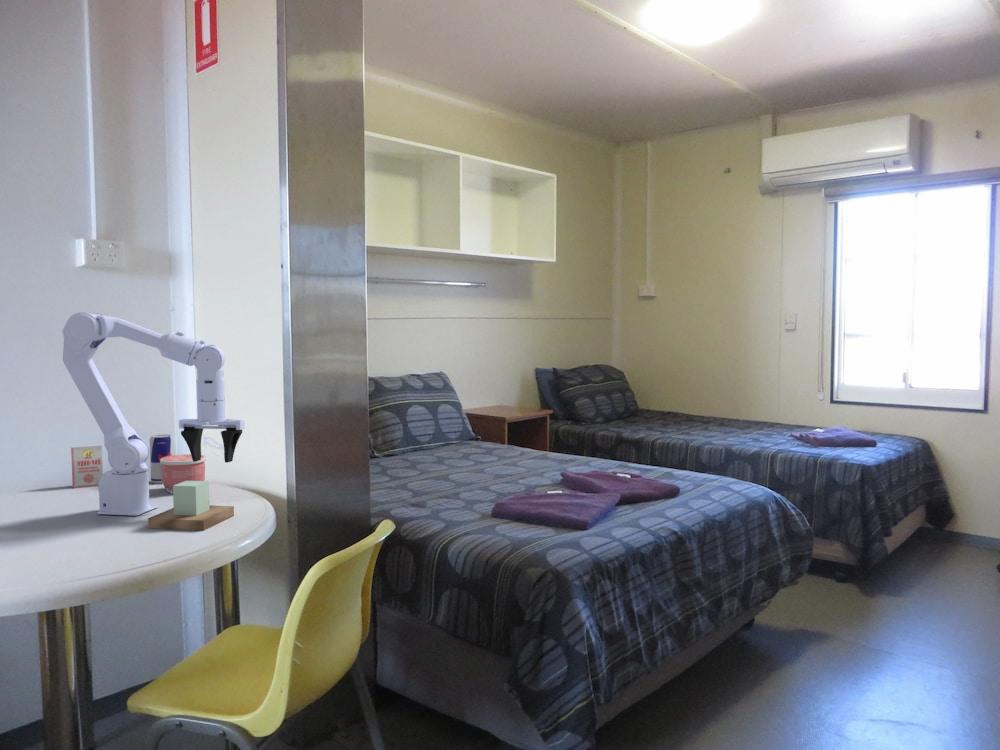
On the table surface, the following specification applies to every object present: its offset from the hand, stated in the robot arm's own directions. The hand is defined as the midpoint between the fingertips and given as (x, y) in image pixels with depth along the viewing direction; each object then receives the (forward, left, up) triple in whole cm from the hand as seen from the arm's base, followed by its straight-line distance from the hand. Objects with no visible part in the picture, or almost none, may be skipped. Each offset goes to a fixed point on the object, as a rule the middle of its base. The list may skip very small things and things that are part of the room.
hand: (212, 461), depth 170 cm
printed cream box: (-44, +17, -11) cm, 48 cm away
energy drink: (-28, +24, -11) cm, 38 cm away
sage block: (+2, -12, -8) cm, 15 cm away
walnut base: (+2, -12, -10) cm, 16 cm away
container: (-17, +16, -11) cm, 26 cm away
